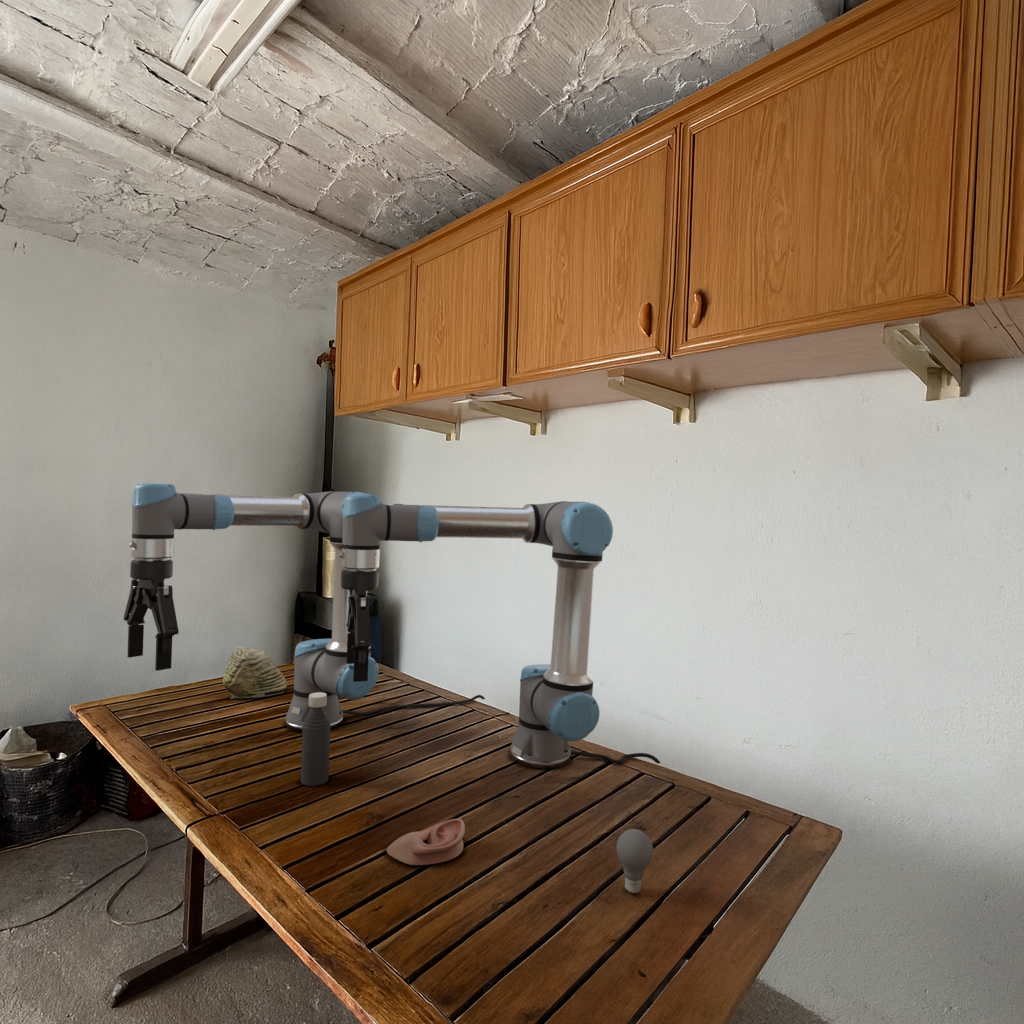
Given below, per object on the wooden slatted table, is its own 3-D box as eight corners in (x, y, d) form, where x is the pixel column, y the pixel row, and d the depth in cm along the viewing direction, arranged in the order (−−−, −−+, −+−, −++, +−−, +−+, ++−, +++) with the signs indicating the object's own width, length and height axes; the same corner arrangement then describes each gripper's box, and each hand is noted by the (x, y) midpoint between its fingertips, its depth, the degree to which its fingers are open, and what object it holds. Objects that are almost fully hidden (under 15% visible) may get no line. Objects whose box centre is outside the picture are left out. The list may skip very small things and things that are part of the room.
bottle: (333, 776, 144) (336, 694, 143) (319, 787, 138) (322, 702, 138) (310, 772, 145) (313, 691, 145) (295, 783, 139) (298, 699, 139)
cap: (329, 703, 143) (330, 693, 142) (320, 708, 139) (320, 698, 139) (314, 701, 144) (315, 691, 143) (304, 706, 140) (305, 696, 140)
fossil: (218, 695, 195) (220, 647, 195) (278, 685, 208) (279, 640, 207) (228, 703, 189) (230, 653, 188) (289, 692, 201) (290, 645, 201)
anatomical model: (380, 837, 111) (404, 807, 122) (379, 860, 111) (403, 827, 122) (452, 849, 108) (470, 817, 120) (451, 872, 108) (469, 838, 120)
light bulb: (610, 879, 108) (613, 822, 108) (644, 879, 109) (647, 822, 109) (619, 902, 102) (622, 840, 102) (655, 901, 103) (658, 840, 103)
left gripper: (108, 554, 134) (104, 654, 134) (159, 565, 118) (155, 678, 119) (146, 552, 140) (143, 648, 140) (199, 563, 124) (195, 671, 124)
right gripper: (336, 562, 141) (333, 657, 141) (347, 577, 117) (343, 690, 118) (370, 562, 143) (367, 655, 144) (388, 576, 120) (383, 688, 120)
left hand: (148, 662), depth 129 cm, fingers open, 13 cm apart
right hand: (356, 671), depth 131 cm, fingers open, 13 cm apart
